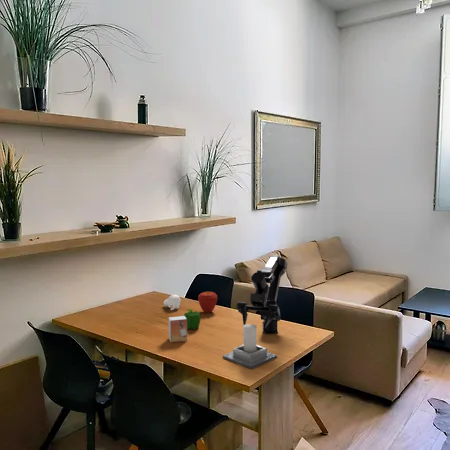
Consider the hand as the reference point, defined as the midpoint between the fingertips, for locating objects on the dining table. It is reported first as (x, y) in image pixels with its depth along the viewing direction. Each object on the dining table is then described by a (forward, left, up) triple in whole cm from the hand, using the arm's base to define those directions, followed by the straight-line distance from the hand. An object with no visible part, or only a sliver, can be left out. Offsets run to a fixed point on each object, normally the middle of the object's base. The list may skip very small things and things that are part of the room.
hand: (254, 326), depth 188 cm
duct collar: (+3, +6, -11) cm, 13 cm away
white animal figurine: (+38, -71, -12) cm, 81 cm away
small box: (+33, -19, -12) cm, 40 cm away
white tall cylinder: (+3, +6, -10) cm, 12 cm away
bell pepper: (+26, -35, -12) cm, 45 cm away
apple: (+17, -61, -11) cm, 64 cm away
